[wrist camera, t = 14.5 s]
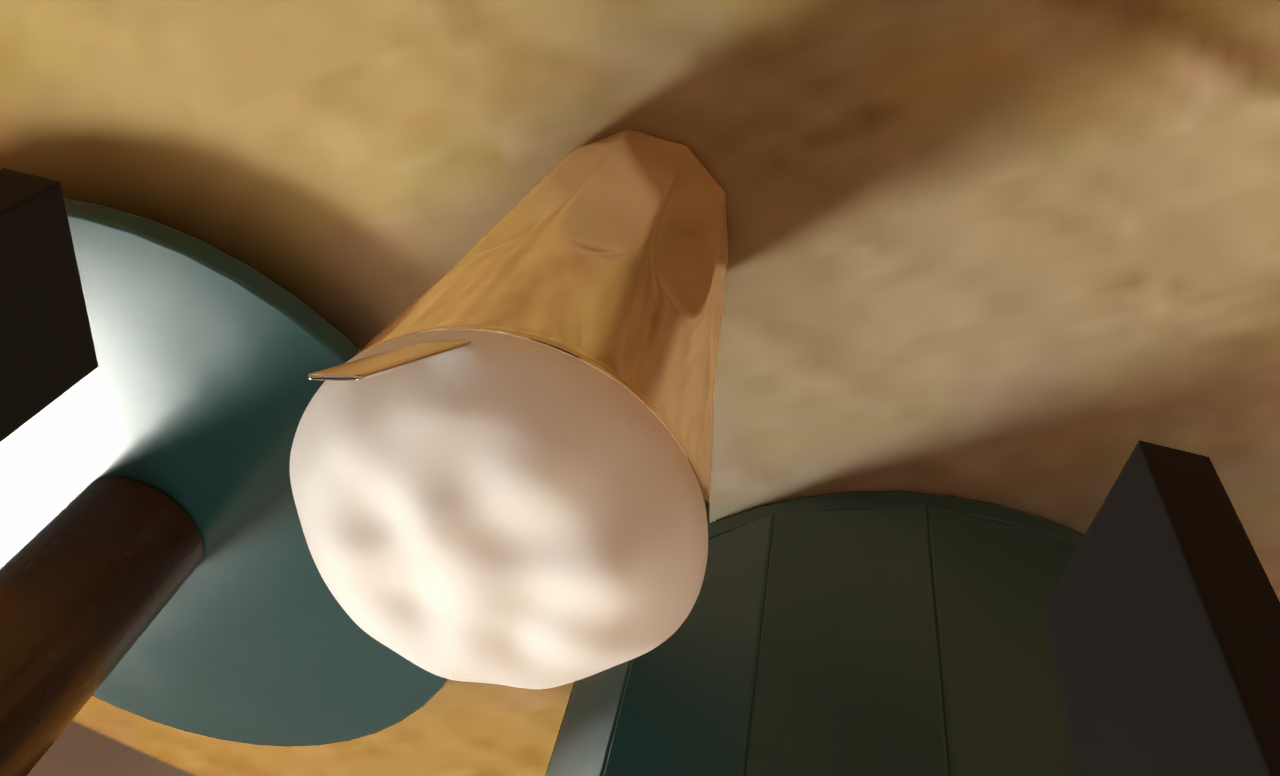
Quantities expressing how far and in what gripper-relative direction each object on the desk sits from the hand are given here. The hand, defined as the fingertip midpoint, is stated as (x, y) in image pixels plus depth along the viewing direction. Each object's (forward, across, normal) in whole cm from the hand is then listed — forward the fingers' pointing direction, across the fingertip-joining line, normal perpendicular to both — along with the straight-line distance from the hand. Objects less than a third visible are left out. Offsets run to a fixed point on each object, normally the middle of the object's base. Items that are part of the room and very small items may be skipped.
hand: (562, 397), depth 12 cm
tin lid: (+5, -10, -10) cm, 15 cm away
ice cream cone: (+6, 0, 0) cm, 6 cm away
